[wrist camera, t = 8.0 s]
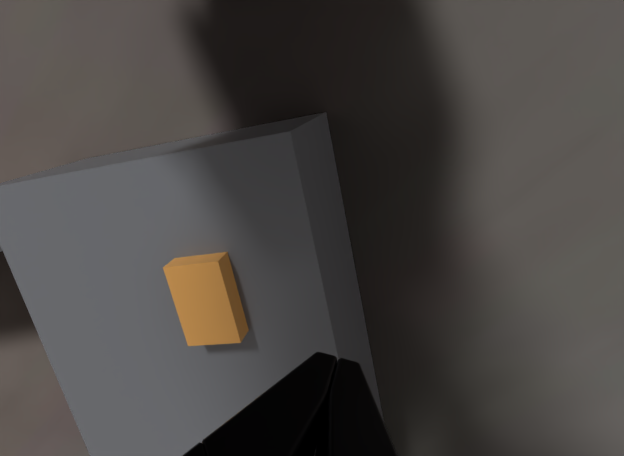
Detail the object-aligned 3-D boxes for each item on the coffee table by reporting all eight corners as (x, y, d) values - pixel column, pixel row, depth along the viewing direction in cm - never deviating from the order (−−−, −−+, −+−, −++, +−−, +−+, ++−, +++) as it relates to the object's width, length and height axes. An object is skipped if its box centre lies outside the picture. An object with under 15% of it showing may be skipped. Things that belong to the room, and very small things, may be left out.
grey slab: (85, 158, 22) (-44, 195, 16) (326, 112, 19) (283, 135, 13) (203, 497, 28) (144, 620, 22) (399, 503, 25) (394, 649, 19)
